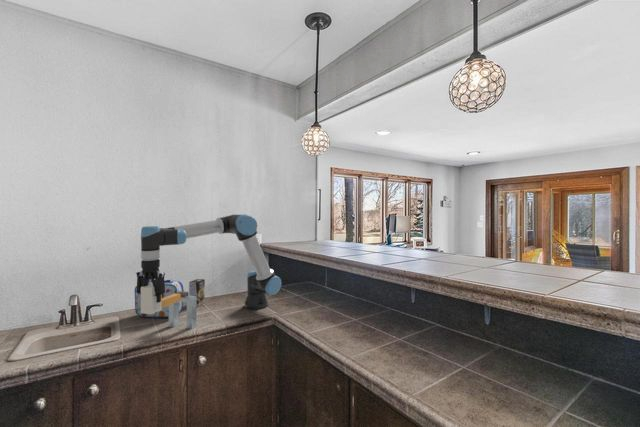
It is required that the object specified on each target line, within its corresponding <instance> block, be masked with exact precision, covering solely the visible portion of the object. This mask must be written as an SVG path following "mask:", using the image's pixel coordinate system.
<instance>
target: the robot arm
mask: <svg viewBox="0 0 640 427" xmlns="http://www.w3.org/2000/svg"><path fill="white" fill-rule="evenodd" d="M257 229H258V222H257V219H256V218H255V217H254V216H252V215H250V214H244V213H243V214H230V215H225V216H223V217H217V218H216V219H215V220H208V221H203V222H195V223H190V224H184V225H177V226H172V227H171V226H170V227H161V228H160V226H158V225H152V226H151V225H149V226H146V225H145V226H142V227H141V232H140V244H141V246H140V248H141V249H140V250H141V251H140V259H141V263H140V264H141V265H140V268H141V269H142V270H141V271H138V272H136V286H137V293H139V294H140V295H141V287H143V286H147V285H148V283H149V280H151V282H152V283H153V287H154V291H155V294H156V295H155V296H154V310H157V309H160V302H161V294H164V293H165V283H164V281H165V275H166V273H165V272H161V271H160V265H161V263H160V261H161V260H160V255H161V254H160V253H161V252H160V249H161V248H160V247H161V246H162V247H164V246H176V245H177V246H178V245H182V244H185V243H186V242H187V239H192V238H197V237H202V236H203V237H204V236H207V235H213V234H220V235H222V234H234V235H236V237H237V240H238V241H239V242H241V243H242V244H243V246H244V249H245V251H246V253H247V255H248V258H249V259H250V262H251V264H252V266H253V269H254V270H251V271H248V272H247V276H246V278H247V283H246V284H247V286H246V287H247V289H246V290H247V292H246V294H247V295H246V298H245V300H244V307H245V308H246V309H249V310H258V309H264V308H266V307H268V305H269V300H268V298H267V295H271V296H272V295H273V296H274V295H276V294H277V293H279V292H280V290H281V287H282V278H281V277H279V276H278V275H276V274H275V271H274V269H273V268H270V266H269V263H268V261H267V259H266V255H265V254H264V251H263V249H262V247H261V245H260V242H259V240H258V238H257V234H258V230H257Z"/></svg>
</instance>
